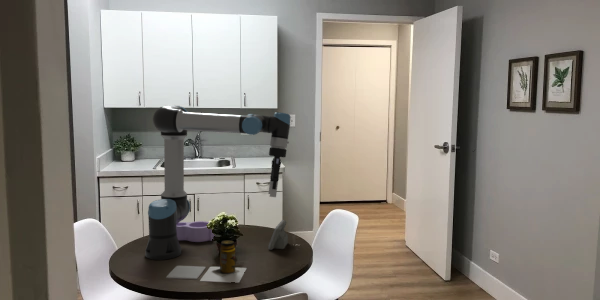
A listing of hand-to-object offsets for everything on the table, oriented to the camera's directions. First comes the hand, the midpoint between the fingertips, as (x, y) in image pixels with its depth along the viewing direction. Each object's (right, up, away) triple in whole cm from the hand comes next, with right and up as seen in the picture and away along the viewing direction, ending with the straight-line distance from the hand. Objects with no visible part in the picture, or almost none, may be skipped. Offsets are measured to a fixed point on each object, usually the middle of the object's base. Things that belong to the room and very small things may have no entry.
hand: (271, 195), depth 208 cm
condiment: (-17, -28, -21) cm, 39 cm away
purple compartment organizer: (-40, -23, +23) cm, 51 cm away
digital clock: (+2, -25, +13) cm, 28 cm away
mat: (-32, -28, -22) cm, 48 cm away
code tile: (-17, -29, -23) cm, 41 cm away
